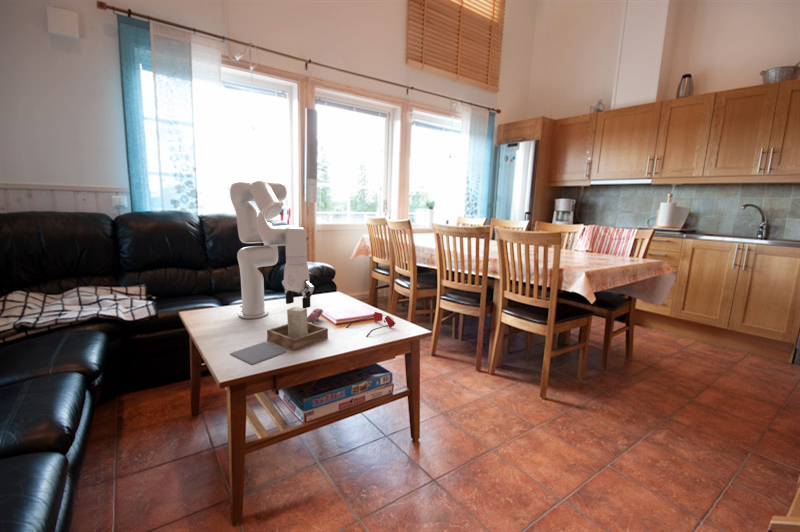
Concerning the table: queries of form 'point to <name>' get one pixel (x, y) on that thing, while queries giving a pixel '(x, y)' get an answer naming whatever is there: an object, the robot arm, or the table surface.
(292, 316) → the skincare box
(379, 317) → the glasses
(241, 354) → the grey mat
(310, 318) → the pink animal figurine
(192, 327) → the table surface
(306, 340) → the walnut box
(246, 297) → the robot arm
